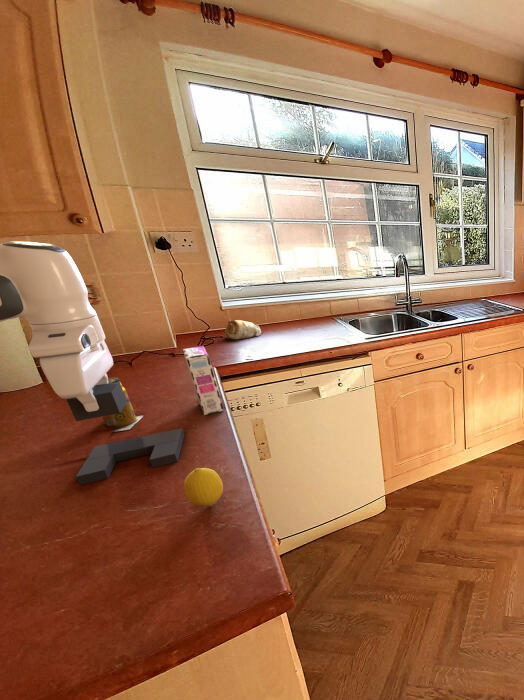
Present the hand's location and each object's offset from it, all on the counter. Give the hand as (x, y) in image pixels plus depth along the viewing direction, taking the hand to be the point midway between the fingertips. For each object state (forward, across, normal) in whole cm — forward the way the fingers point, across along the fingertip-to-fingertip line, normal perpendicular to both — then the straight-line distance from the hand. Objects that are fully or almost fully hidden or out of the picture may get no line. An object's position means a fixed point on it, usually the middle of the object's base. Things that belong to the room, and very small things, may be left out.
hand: (99, 402), depth 83 cm
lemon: (+16, +23, +16) cm, 32 cm away
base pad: (+16, -6, 0) cm, 17 cm away
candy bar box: (+16, -29, +13) cm, 36 cm away
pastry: (+16, -112, +20) cm, 115 cm away
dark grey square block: (+2, 0, 0) cm, 2 cm away
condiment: (+16, -29, -7) cm, 34 cm away
